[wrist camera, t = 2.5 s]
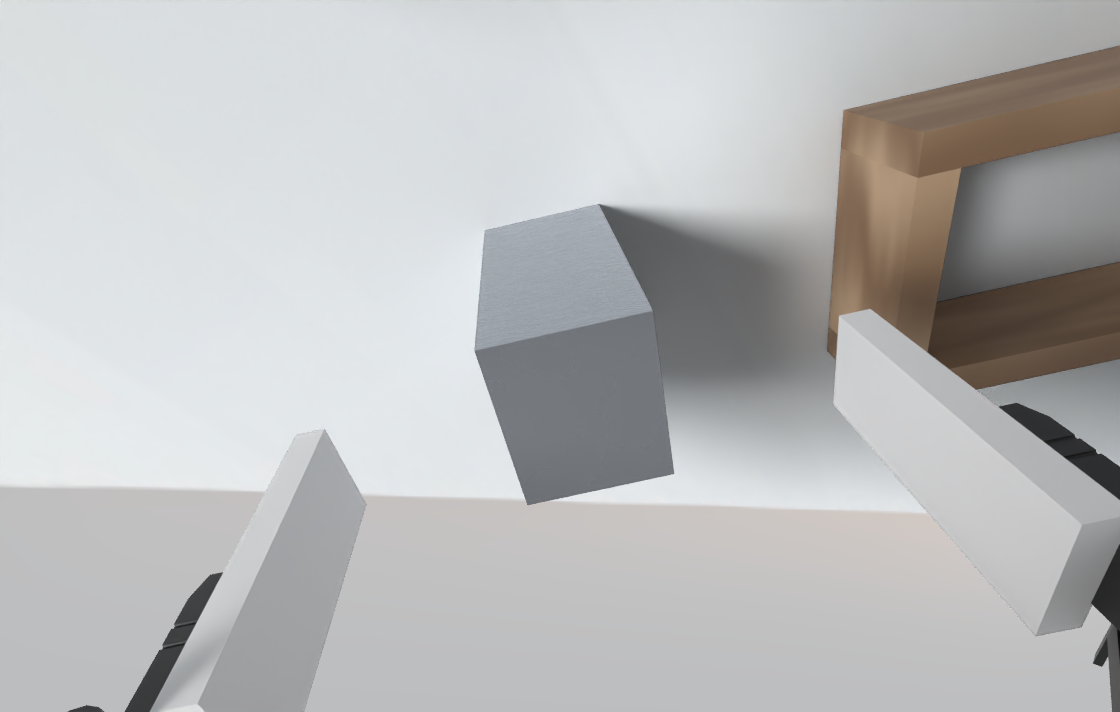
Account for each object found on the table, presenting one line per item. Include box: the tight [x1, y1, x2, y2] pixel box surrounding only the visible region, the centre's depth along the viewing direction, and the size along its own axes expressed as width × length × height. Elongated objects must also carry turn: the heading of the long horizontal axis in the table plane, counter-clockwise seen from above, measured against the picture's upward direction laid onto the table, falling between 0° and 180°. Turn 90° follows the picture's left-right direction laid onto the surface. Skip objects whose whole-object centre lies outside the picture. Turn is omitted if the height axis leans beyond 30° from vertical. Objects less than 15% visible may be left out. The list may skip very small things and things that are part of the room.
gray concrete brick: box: [475, 204, 674, 505], centre depth 17 cm, size 5×4×8 cm
